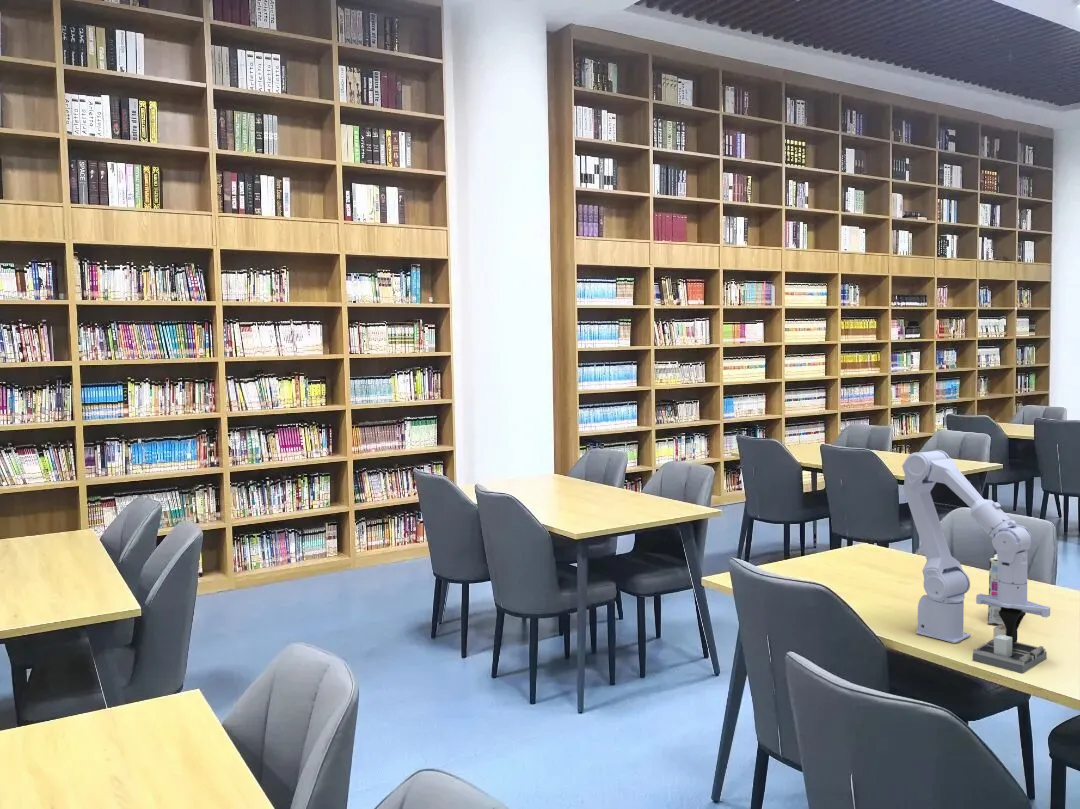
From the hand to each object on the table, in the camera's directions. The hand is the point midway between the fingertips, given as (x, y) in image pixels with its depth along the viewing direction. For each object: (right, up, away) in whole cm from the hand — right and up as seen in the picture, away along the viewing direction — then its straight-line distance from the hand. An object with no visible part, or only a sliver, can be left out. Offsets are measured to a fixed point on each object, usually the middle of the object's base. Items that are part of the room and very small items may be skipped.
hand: (1011, 642), depth 182 cm
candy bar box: (+12, -2, +24) cm, 27 cm away
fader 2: (-5, -2, -5) cm, 7 cm away
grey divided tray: (-2, -3, -2) cm, 4 cm away
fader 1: (-1, -1, +2) cm, 2 cm away
